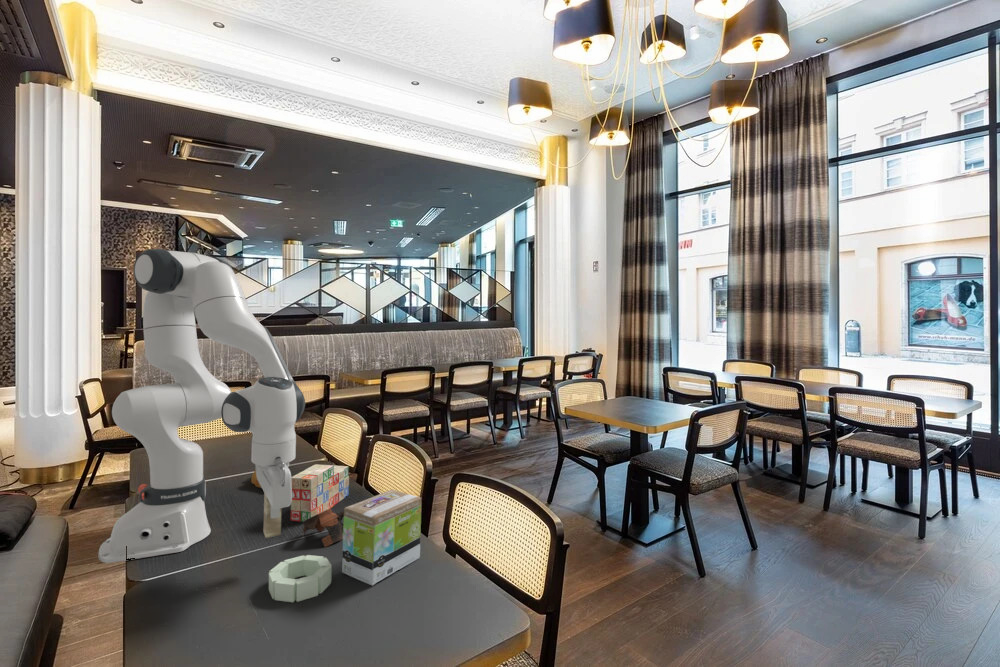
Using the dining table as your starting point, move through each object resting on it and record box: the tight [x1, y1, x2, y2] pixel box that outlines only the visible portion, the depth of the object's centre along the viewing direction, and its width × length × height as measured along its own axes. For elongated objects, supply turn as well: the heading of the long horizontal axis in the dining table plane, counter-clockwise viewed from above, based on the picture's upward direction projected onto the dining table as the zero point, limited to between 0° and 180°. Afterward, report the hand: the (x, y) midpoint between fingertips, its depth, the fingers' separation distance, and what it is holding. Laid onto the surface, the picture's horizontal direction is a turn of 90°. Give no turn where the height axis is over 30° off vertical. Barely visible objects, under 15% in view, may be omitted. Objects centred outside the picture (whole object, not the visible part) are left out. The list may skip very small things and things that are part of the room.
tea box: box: [341, 489, 422, 586], centre depth 110 cm, size 15×10×15 cm, turn 148°
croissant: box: [250, 469, 262, 489], centre depth 163 cm, size 21×10×8 cm, turn 36°
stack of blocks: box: [290, 463, 350, 523], centre depth 143 cm, size 21×6×12 cm, turn 169°
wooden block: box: [262, 492, 282, 539], centre depth 108 cm, size 3×3×10 cm
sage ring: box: [268, 554, 332, 603], centre depth 101 cm, size 12×12×4 cm
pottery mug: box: [302, 508, 344, 548], centre depth 124 cm, size 12×10×8 cm
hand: (272, 513), depth 108 cm, fingers closed on wooden block, 3 cm apart
